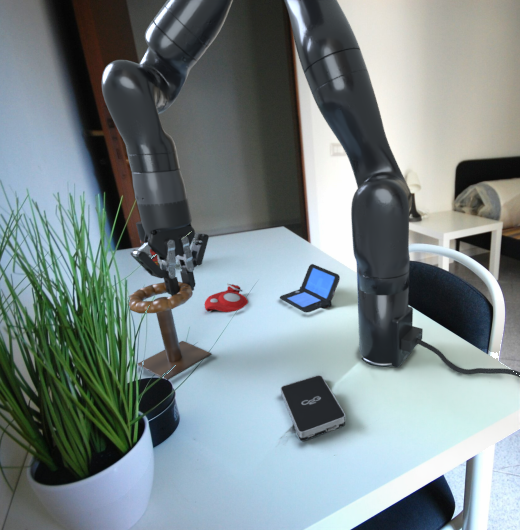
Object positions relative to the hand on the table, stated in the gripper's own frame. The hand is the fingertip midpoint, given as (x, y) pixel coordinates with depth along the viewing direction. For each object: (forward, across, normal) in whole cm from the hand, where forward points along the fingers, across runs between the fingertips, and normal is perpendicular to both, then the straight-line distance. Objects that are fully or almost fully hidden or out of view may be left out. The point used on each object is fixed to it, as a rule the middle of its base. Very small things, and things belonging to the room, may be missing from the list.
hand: (182, 292), depth 67 cm
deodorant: (+13, +25, +55) cm, 62 cm away
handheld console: (+13, +29, -5) cm, 32 cm away
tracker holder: (+13, +18, +11) cm, 25 cm away
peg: (+13, -4, 0) cm, 14 cm away
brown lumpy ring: (-1, -4, 0) cm, 4 cm away
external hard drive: (+13, -1, -30) cm, 33 cm away
